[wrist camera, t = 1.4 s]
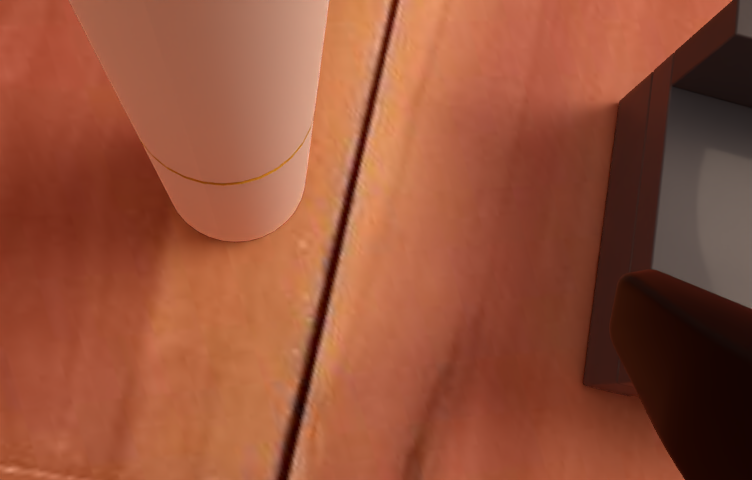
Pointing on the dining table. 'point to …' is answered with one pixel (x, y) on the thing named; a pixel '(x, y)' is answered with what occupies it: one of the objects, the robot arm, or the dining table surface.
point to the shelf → (680, 180)
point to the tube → (217, 100)
